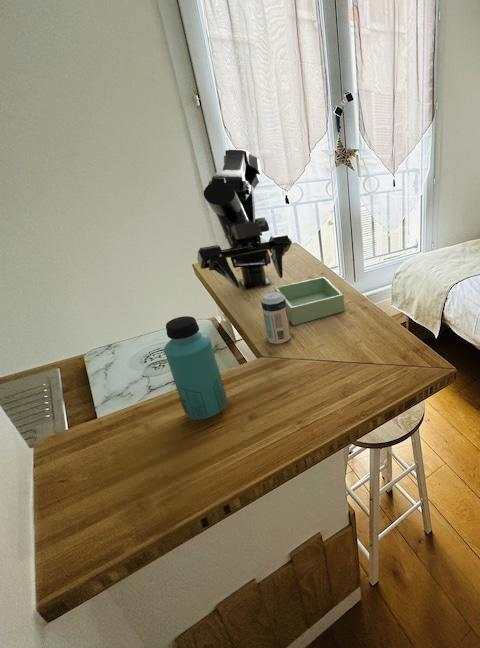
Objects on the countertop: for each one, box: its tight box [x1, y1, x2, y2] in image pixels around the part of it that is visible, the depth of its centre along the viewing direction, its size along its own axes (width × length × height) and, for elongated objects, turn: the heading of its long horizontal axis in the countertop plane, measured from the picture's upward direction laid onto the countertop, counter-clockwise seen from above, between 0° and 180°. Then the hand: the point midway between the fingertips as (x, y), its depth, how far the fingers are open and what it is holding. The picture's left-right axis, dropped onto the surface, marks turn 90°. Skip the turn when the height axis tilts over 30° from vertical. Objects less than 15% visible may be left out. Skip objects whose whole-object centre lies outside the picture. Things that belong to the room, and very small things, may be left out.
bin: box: [273, 276, 345, 326], centre depth 107 cm, size 13×13×5 cm
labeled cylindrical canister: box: [260, 290, 292, 345], centre depth 91 cm, size 5×5×12 cm
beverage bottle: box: [163, 315, 228, 420], centre depth 68 cm, size 6×7×20 cm
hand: (260, 282), depth 92 cm, fingers open, 9 cm apart
